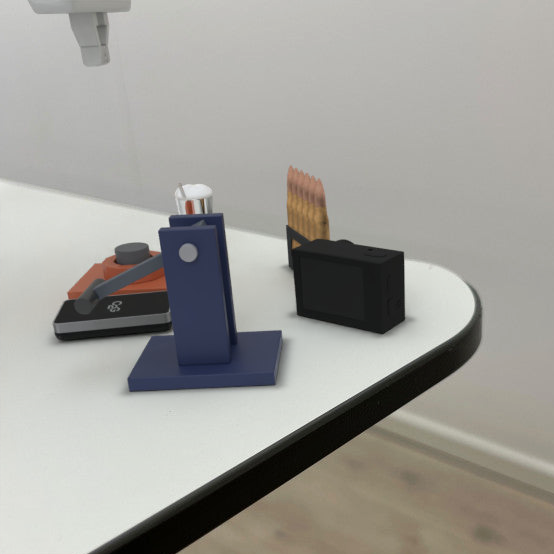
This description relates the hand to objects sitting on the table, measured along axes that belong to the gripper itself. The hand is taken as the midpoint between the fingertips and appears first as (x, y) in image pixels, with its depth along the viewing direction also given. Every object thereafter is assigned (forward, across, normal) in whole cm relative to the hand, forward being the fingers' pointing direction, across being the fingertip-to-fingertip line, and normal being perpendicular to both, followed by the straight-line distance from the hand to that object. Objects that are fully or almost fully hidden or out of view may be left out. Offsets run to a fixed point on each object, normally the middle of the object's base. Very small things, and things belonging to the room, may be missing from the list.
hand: (97, 65), depth 74 cm
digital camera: (+24, +8, +24) cm, 35 cm away
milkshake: (+24, -14, +4) cm, 28 cm away
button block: (+24, -1, 0) cm, 24 cm away
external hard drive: (+24, +8, 0) cm, 25 cm away
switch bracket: (+24, +19, +11) cm, 32 cm away
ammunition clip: (+24, -4, +19) cm, 31 cm away
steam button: (+20, -1, 0) cm, 20 cm away
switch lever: (+16, +19, +7) cm, 26 cm away
